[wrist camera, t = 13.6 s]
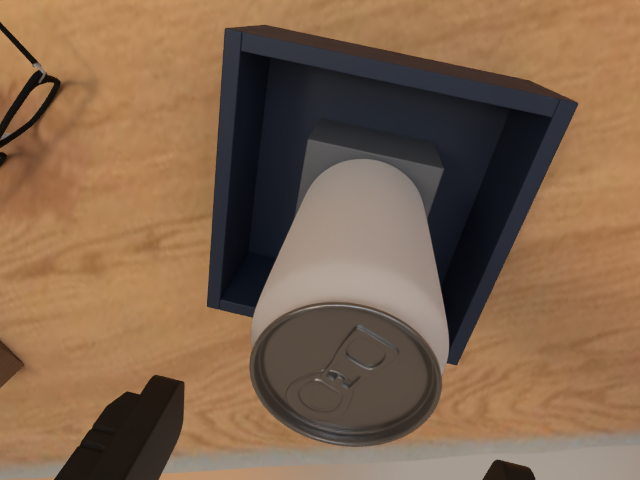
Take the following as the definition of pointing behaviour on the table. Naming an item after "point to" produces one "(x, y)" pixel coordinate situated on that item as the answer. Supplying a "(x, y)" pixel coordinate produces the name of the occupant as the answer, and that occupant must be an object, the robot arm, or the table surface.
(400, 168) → the grey block
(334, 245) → the can
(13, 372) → the wooden block set
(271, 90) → the crate
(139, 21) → the table surface
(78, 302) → the table surface
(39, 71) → the eyeglasses
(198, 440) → the table surface
